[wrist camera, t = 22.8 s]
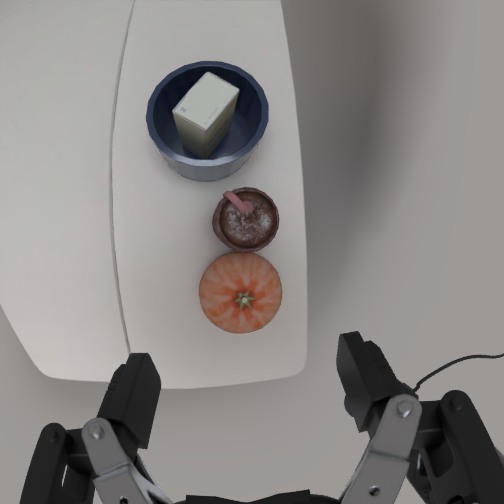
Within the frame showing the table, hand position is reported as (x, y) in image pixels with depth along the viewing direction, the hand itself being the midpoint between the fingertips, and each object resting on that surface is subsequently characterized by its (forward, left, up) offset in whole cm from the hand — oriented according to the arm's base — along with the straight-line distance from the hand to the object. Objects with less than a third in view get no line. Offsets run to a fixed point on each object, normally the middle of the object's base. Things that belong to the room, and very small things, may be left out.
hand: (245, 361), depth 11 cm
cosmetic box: (-4, -18, -28) cm, 34 cm away
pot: (-4, -18, -28) cm, 34 cm away
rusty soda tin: (-4, -5, -29) cm, 29 cm away
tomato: (-2, +4, -29) cm, 29 cm away
